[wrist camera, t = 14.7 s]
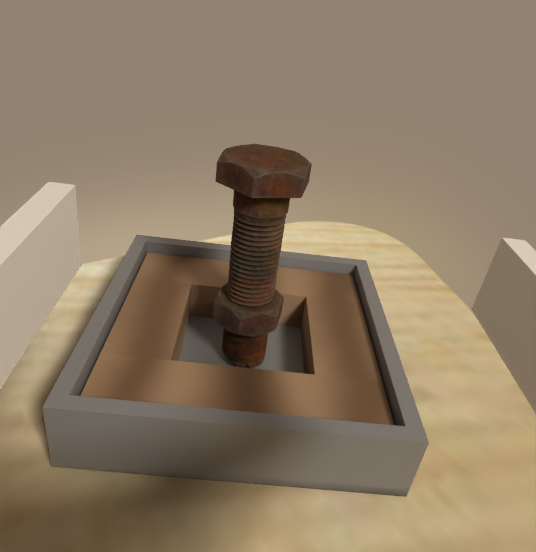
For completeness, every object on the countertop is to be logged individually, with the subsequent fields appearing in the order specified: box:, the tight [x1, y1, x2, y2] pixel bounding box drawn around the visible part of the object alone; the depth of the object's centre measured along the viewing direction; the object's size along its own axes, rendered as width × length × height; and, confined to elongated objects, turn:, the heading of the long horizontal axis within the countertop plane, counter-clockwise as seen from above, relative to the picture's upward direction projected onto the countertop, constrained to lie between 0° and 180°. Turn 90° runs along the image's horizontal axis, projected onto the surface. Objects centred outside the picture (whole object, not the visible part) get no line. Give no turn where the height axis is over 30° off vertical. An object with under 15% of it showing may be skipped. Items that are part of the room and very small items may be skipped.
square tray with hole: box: [80, 252, 394, 425], centre depth 35 cm, size 18×18×3 cm
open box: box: [42, 235, 429, 496], centre depth 35 cm, size 20×20×4 cm
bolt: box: [213, 144, 311, 368], centre depth 32 cm, size 6×5×15 cm
